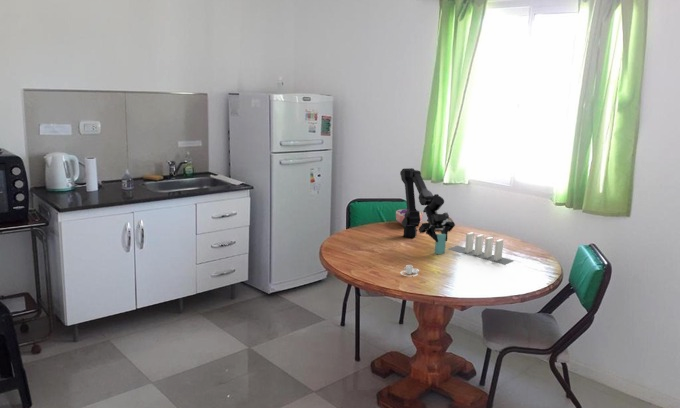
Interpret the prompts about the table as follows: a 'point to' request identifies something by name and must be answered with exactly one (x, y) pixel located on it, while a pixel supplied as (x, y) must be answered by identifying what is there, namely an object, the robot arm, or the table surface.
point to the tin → (445, 222)
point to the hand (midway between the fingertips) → (442, 241)
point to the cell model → (401, 215)
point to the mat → (462, 250)
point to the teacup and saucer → (410, 270)
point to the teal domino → (440, 243)
